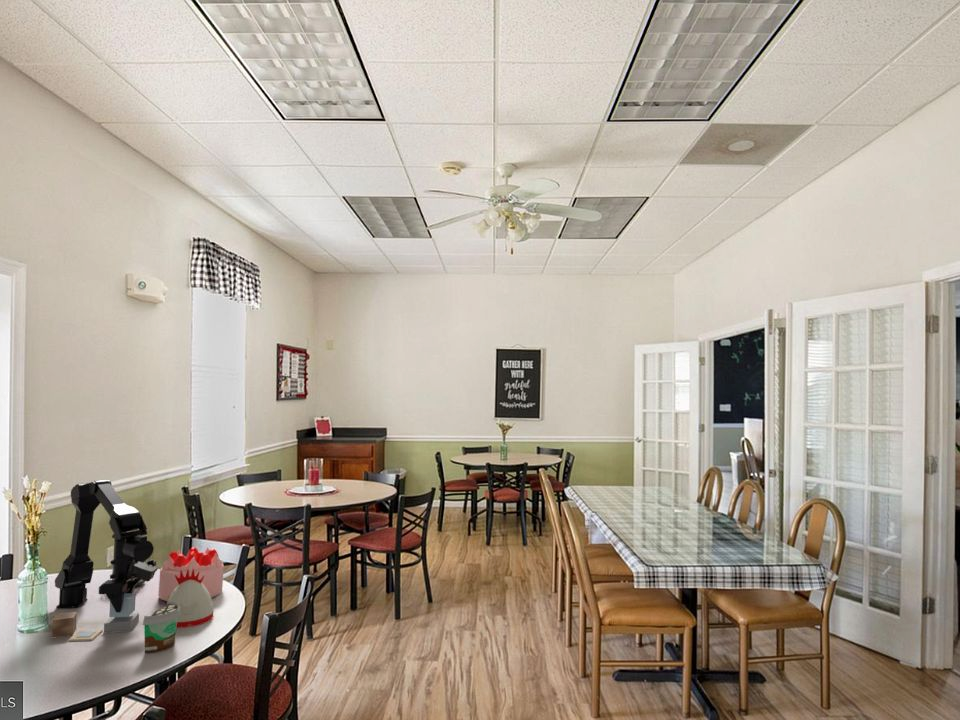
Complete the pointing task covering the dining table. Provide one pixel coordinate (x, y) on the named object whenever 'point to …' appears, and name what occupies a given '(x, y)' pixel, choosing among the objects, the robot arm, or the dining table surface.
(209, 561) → the cake
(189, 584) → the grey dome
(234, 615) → the dining table surface
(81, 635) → the tan flat square frame
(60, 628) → the walnut cube
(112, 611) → the slate cube
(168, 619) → the food container
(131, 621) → the base block
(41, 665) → the dining table surface
